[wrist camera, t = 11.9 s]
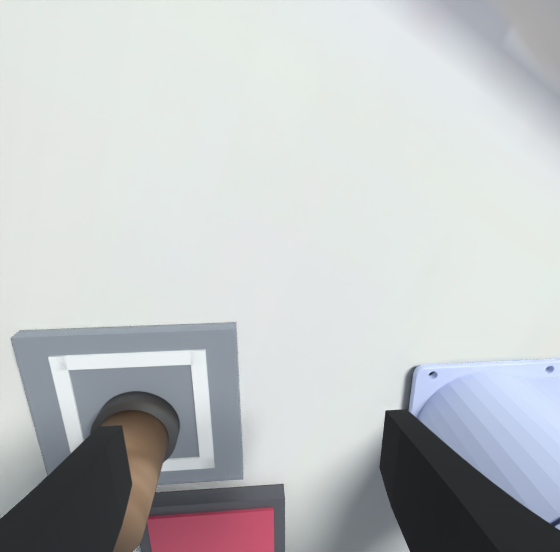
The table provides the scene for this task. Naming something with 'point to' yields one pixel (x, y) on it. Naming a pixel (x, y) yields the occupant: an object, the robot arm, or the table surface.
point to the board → (138, 389)
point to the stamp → (141, 453)
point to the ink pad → (217, 520)
